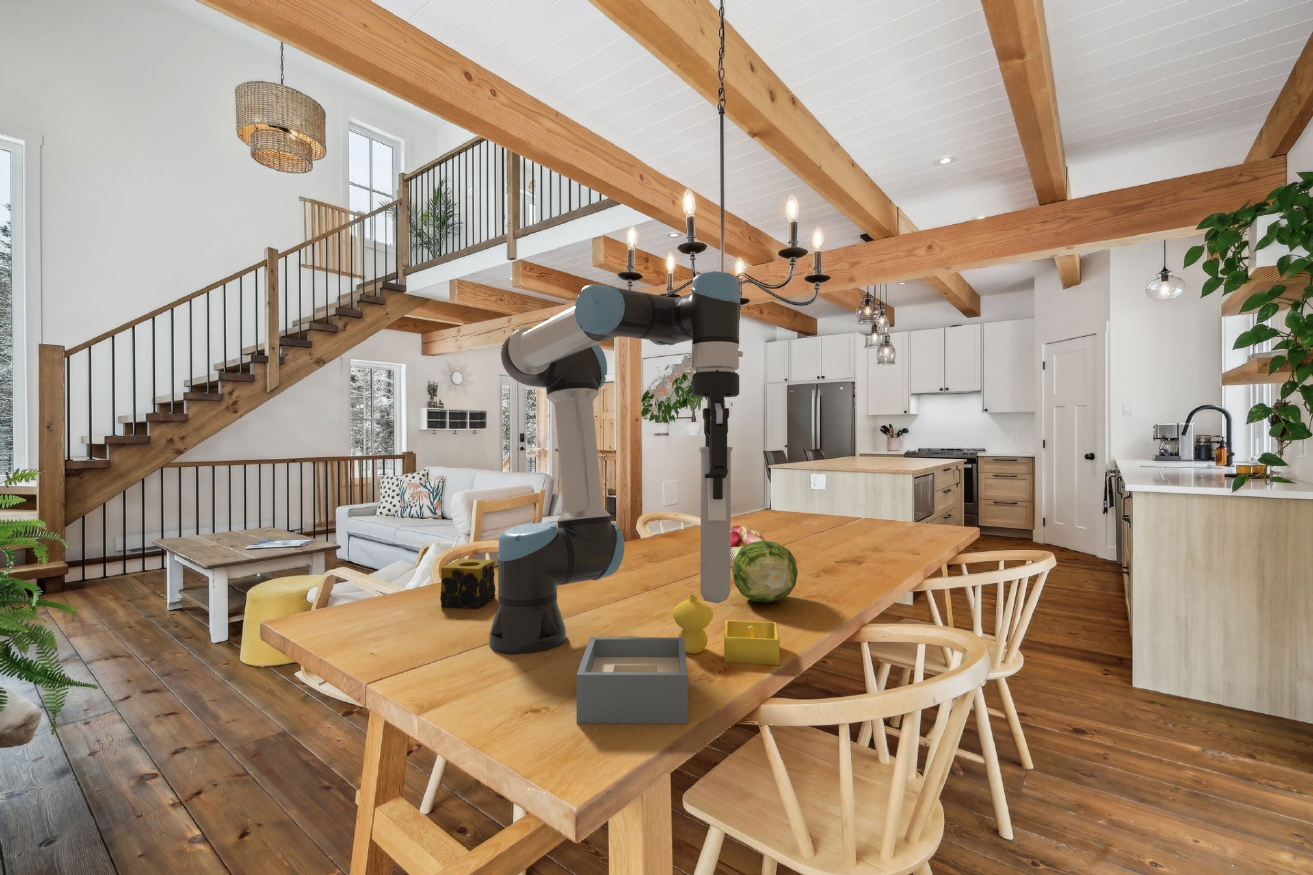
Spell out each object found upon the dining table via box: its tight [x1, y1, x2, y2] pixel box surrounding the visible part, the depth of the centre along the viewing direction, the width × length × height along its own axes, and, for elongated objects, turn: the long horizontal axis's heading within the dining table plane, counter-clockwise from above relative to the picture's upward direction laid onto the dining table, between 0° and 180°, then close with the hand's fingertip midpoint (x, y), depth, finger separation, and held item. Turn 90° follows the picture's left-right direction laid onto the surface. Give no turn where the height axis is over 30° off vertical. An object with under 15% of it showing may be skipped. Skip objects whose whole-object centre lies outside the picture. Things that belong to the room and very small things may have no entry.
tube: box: [698, 446, 733, 605], centre depth 96 cm, size 5×5×25 cm
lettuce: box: [732, 540, 799, 603], centre depth 146 cm, size 16×21×15 cm
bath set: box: [671, 593, 781, 666], centre depth 114 cm, size 20×10×11 cm, turn 82°
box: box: [575, 636, 689, 725], centre depth 94 cm, size 16×16×7 cm
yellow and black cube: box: [439, 558, 496, 610], centre depth 148 cm, size 10×10×10 cm
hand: (715, 517), depth 96 cm, fingers closed on tube, 5 cm apart
